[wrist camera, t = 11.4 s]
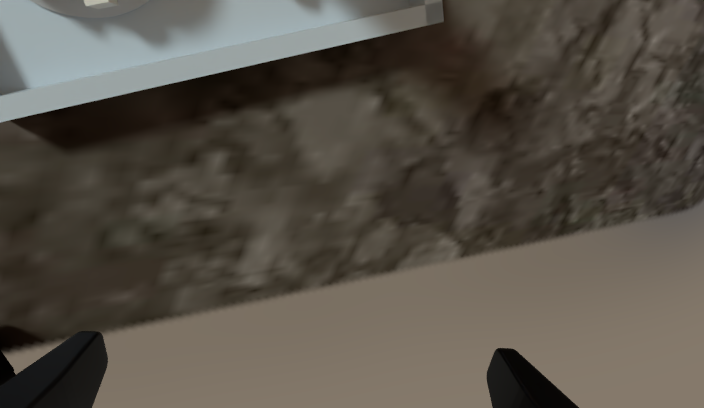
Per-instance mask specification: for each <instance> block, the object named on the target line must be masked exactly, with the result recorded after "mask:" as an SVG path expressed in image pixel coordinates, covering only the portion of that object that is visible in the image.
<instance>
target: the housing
mask: <svg viewBox="0 0 704 408" xmlns="http://www.w3.org/2000/svg"><path fill="white" fill-rule="evenodd" d="M441 22H444V15H443V4H442V0H0V122H4V121H8V120H13V119H17V118H22V117H26V116H30V115H35V114H39V113H44V112H48V111H52V110H57V109H61V108H66V107H70V106H74V105H79V104H83V103H88V102H92V101H97V100H101V99H105V98H110V97H114V96H119V95H123V94H127V93H132V92H136V91H141V90H145V89H149V88H154V87H158V86H163V85H167V84H172V83H176V82H180V81H185V80H189V79H194V78H198V77H202V76H207V75H211V74H216V73H220V72H224V71H229V70H233V69H238V68H242V67H247V66H251V65H255V64H260V63H264V62H269V61H273V60H277V59H282V58H286V57H291V56H295V55H299V54H304V53H308V52H313V51H317V50H322V49H326V48H330V47H335V46H339V45H344V44H348V43H352V42H357V41H361V40H366V39H370V38H374V37H379V36H383V35H388V34H392V33H397V32H401V31H405V30H410V29H414V28H419V27H423V26H427V25H432V24H436V23H441Z"/></svg>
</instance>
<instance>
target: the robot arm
mask: <svg viewBox="0 0 704 408" xmlns="http://www.w3.org/2000/svg"><path fill="white" fill-rule="evenodd" d="M107 363H108V357H107V352H106V348H105V344H104V339H103V336H102V334H101V333H100V332H95V331H81V332H78V333H76V334H75V335H73V336H72V337H71V338H69V339H68V340H66V341H65V342H63V343H62V344H60V345H59V346H57V347H56V348H55V349H53V350H52V351H50V352H49V353H47V354H46V355H44V356H43V357H41V358H40V359H39V360H37V361H36V362H34V363H33V364H31V365H30V366H28V367H27V368H25V369H24V370H23V371H21V372H20V373H18V374H17V375H16V374H15V373H14V369H13V367H12V366H11V365H10V363H9V362H8V360H7V359H6V357H5V356H4V355H3V353H2V352H1V350H0V408H92V406H93V403H94V400H95V398H96V395H97V392H98V390H99V387H100V384H101V382H102V379H103V376H104V374H105V371H106V368H107ZM487 383H488V388H489V393H490V397H491V401H492V406H493V408H579V407H578V406H576V405H575V404H574V403H573V402H572V401H571V400H570V399H569V398H568V397H567V396H566V395H564V394H563V393H562V392H561V391H560V390H559V389H558V388H557V387H556V386H555V385H553V384H552V383H551V382H550V381H549V380H548V379H547V378H546V377H545V376H544V375H542V374H541V373H540V372H539V371H538V370H537V369H536V368H535V367H534V366H532V365H531V364H530V363H529V362H528V361H527V360H526V359H525V358H523V356H522V355H520V354H519V353H518V352H517V351H516V350H514V349H508V348H507V349H506V348H498V349H496V351H495V352H494V355H493V357H492V360H491V363H490V366H489V368H488V371H487Z"/></svg>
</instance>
